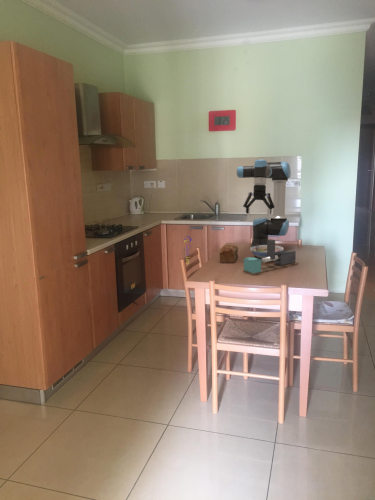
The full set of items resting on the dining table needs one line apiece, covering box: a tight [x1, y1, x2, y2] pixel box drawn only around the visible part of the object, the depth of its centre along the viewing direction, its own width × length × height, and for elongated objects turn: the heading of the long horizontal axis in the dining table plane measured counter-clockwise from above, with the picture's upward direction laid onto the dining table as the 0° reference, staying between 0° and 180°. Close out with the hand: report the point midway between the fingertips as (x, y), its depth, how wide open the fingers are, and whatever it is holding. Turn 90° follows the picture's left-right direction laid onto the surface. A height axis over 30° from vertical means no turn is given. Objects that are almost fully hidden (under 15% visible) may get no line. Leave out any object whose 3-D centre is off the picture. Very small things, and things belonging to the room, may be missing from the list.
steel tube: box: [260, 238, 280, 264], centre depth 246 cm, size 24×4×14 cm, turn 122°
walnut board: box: [242, 261, 299, 276], centre depth 245 cm, size 38×9×1 cm, turn 122°
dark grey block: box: [273, 249, 297, 266], centre depth 250 cm, size 13×6×8 cm, turn 122°
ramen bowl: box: [249, 244, 285, 259], centre depth 269 cm, size 25×23×8 cm
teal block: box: [243, 256, 262, 273], centre depth 236 cm, size 6×9×8 cm, turn 32°
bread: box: [219, 244, 239, 264], centre depth 270 cm, size 19×11×10 cm, turn 165°
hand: (258, 219), depth 247 cm, fingers open, 13 cm apart
